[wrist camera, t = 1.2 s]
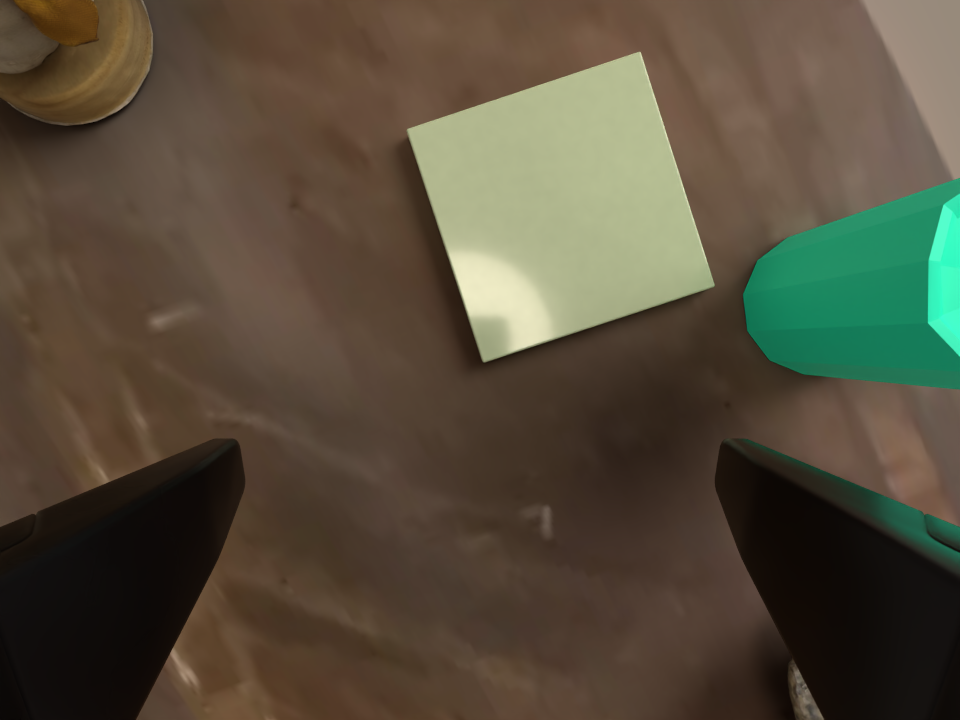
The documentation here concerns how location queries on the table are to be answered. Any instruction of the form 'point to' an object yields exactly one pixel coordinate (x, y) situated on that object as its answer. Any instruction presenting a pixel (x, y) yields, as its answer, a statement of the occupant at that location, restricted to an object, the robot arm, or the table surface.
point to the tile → (561, 207)
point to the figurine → (73, 57)
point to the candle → (866, 294)
